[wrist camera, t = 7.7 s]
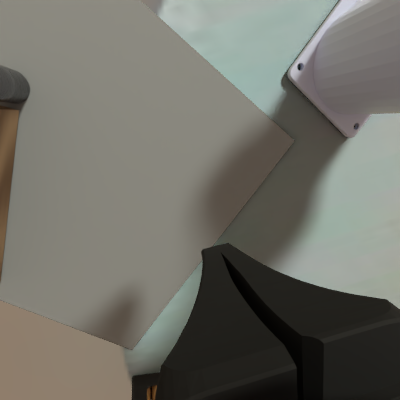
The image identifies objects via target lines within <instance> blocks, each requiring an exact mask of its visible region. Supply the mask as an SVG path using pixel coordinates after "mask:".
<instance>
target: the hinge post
mask: <svg viewBox="0 0 400 400" xmlns="http://www.w3.org/2000/svg"><path fill="white" fill-rule="evenodd" d="M29 95H30V86H29V83H28V81H27V79H26V78H25V77H24V76H23V75H22V74H21V73H20V72H18V71H16V70H13V69H10V68H8V67H5V66H2V65H0V102H5V103H13V104H19V103H22V102H24V101H26V100H27V98H28V97H29Z"/></svg>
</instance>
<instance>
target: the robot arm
mask: <svg viewBox="0 0 400 400" xmlns="http://www.w3.org/2000/svg"><path fill="white" fill-rule="evenodd" d="M298 64H300V66H301V69H300V71H299V70H298V69H297V66H298ZM287 75H288V78H289V80H290V81H291V82H292V83H293V84H294V85H295V86H296V87H297V88H298V89H299V90H300V91H301V92H302V93H303V94H304V95H305V96H306V97H307V98H308V99H309V100H310V101H311V102H312V103H313V104H314V105H315V106H316V107H317V108H318V109H319V110H320V111H321V112H322V113H323V114H324V115H325V116H326V117H327V118H328V119H329V120H330V121H331V122H332V123H333V124H334V125H335V126H336V127H337V128H338V129H339V130H340V131H341V133H342V134H343V135H344V136H346V137H350V138H352V137H354V136H355V135H356V134H357V133H358V131H359V130H360V129H361V128H362V126H363V125H364V124H365V123H366V122H367V120H368V119H369V118H370V117H371V115H372V114H384V113H400V0H339V2H338V3H337V5H336V6H335V7H334V9H333V10H332V11H331V13H330V14H329V15H328V17H327V18H326V19H325V21H324V22H323V24H322V25H321V26H320V28H319V29H318V30H317V32H316V33H315V34H314V36H313V37H312V38H311V40H310V41H309V43H308V44H307V45H306V47H305V48H304V49H303V51H302V52H301V53H300V55H299V56H298V57H297V59H296V60H295V62H294V63H293V64H292V66H291V67H290V68H289V70H288V73H287ZM354 124H355V125H356V127H355V128H354ZM201 255H202V260H203V267H202V276H201V282H200V287H199V291H198V295H197V298H196V301H195V304H194V307H193V309H192V312H191V315H190V317H189V319H188V322H187V324H186V326H185V328H184V330H183V331H182V333H181V335H180V337H179V339H178V341H177V343H176V344H175V346H174V348H173V349H172V351H171V352H170V354H169V355H168V357H167V358H166V360H165V361H164V363H163V364H162V366H161V370H160V374H159V379H158V383H157V389H156V394H155V400H400V309H398V308H397V307H396V306H394V305H393V304H392V303H390V302H389V301H388V300H386V299H379V298H373V297H367V296H360V295H354V294H349V293H344V292H340V291H335V290H331V289H327V288H323V287H319V286H316V285H313V284H309V283H306V282H303V281H300V280H297V279H295V278H292V277H290V276H287V275H285V274H282V273H280V272H278V271H275V270H273V269H271V268H269V267H267V266H265V265H263V264H261V263H260V262H258V261H256V260H254V259H253V258H251V257H249V256H248V255H246V254H244V253H243V252H241V251H240V250H238V249H237V248H235V247H234V246H232V245H231V244H229V243H226V244H222V245H218V246H214V247H209V248H205V249H203V250H202V251H201Z"/></svg>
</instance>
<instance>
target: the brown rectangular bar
mask: <svg viewBox="0 0 400 400" xmlns="http://www.w3.org/2000/svg"><path fill="white" fill-rule="evenodd" d="M18 117H19V110H15V109H12V108H8V107H5V106H1V105H0V281H1V272H2V263H3V254H4V245H5V235H6V226H7V217H8V208H9V199H10V190H11V181H12V171H13V162H14V153H15V144H16V135H17V126H18Z"/></svg>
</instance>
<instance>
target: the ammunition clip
mask: <svg viewBox="0 0 400 400" xmlns="http://www.w3.org/2000/svg"><path fill="white" fill-rule="evenodd" d="M159 374H160V372H159V373H152V374H144V375H137V376H133V377H132V400H151V399H152V400H155V394H156V389H157V383H158V379H159Z"/></svg>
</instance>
